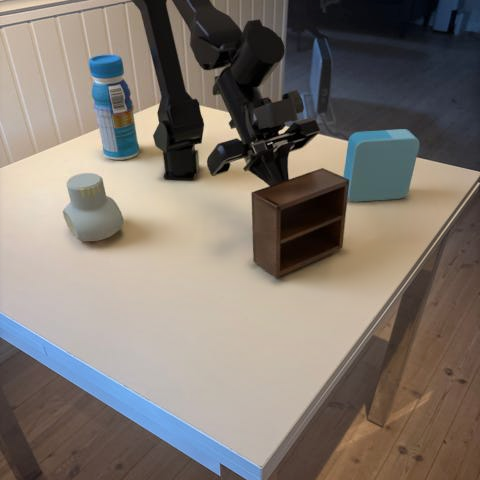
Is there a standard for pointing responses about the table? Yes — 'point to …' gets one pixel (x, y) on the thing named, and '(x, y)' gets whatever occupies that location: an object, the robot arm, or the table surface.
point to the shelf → (298, 220)
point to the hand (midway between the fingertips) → (286, 196)
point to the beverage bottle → (113, 107)
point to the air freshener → (91, 209)
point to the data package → (380, 164)
